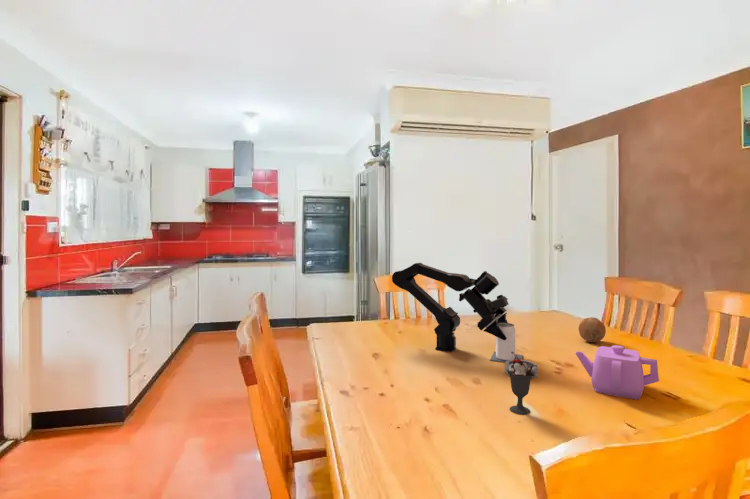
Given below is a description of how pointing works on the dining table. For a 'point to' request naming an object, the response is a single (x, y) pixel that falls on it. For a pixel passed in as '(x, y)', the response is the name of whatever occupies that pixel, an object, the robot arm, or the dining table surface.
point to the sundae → (520, 383)
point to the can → (506, 342)
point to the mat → (504, 360)
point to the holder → (529, 363)
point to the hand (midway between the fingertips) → (508, 336)
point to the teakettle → (619, 371)
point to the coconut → (592, 329)
